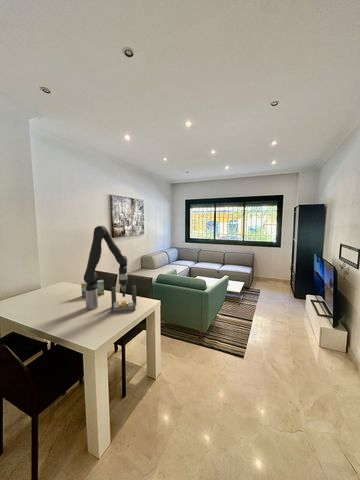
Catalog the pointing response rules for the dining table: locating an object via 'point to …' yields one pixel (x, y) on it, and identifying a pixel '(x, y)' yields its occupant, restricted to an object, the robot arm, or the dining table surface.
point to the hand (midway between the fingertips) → (123, 296)
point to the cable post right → (134, 294)
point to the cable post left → (113, 295)
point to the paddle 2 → (130, 303)
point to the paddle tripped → (123, 303)
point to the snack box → (99, 288)
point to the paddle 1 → (116, 304)
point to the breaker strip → (123, 308)
